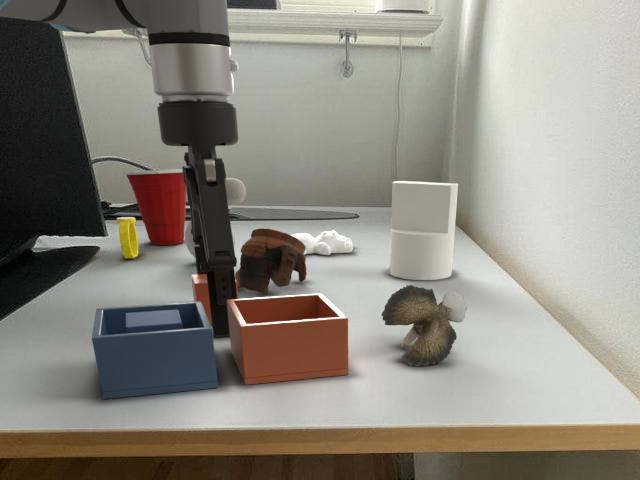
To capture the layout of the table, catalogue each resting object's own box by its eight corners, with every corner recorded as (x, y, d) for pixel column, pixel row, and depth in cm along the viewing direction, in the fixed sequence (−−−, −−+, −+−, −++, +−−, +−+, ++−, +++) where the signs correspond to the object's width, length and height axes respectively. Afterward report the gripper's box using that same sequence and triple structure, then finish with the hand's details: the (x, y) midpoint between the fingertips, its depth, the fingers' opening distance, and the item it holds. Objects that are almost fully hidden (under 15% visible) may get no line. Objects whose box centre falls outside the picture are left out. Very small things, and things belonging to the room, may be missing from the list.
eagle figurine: (382, 322, 69) (361, 330, 61) (424, 265, 66) (408, 265, 58) (439, 368, 69) (426, 382, 61) (483, 312, 66) (476, 319, 58)
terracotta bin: (231, 352, 64) (226, 299, 62) (322, 344, 67) (321, 293, 64) (245, 385, 57) (240, 326, 54) (348, 374, 59) (348, 318, 56)
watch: (137, 261, 102) (130, 220, 99) (118, 261, 102) (111, 220, 99) (144, 254, 107) (138, 215, 104) (126, 254, 107) (120, 215, 104)
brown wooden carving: (219, 288, 89) (234, 228, 89) (279, 312, 94) (294, 255, 94) (257, 281, 79) (274, 214, 79) (322, 308, 84) (338, 245, 84)
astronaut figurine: (352, 255, 107) (352, 236, 106) (278, 255, 107) (277, 235, 106) (353, 246, 115) (353, 227, 113) (284, 245, 115) (284, 227, 113)
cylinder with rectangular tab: (459, 270, 98) (466, 181, 92) (439, 282, 91) (446, 187, 85) (403, 264, 101) (406, 179, 95) (379, 276, 94) (381, 184, 88)
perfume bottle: (190, 257, 105) (181, 174, 99) (252, 256, 106) (246, 174, 100) (185, 267, 98) (174, 179, 93) (250, 266, 99) (244, 179, 94)
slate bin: (106, 363, 61) (96, 308, 59) (207, 354, 64) (201, 301, 61) (103, 399, 54) (91, 338, 51) (218, 387, 56) (212, 328, 53)
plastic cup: (180, 235, 124) (172, 164, 118) (209, 243, 117) (201, 168, 111) (124, 241, 118) (112, 167, 112) (151, 250, 110) (139, 171, 105)
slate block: (133, 362, 60) (125, 312, 57) (184, 357, 61) (178, 309, 59) (134, 379, 56) (125, 327, 54) (188, 374, 57) (182, 322, 55)
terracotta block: (195, 314, 76) (190, 274, 74) (234, 311, 77) (231, 272, 75) (199, 325, 72) (194, 283, 70) (240, 322, 73) (236, 281, 71)
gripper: (255, 97, 55) (272, 346, 65) (219, 101, 75) (236, 290, 86) (161, 96, 53) (194, 353, 63) (151, 101, 73) (177, 294, 84)
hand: (219, 317), depth 74 cm, fingers open, 13 cm apart
